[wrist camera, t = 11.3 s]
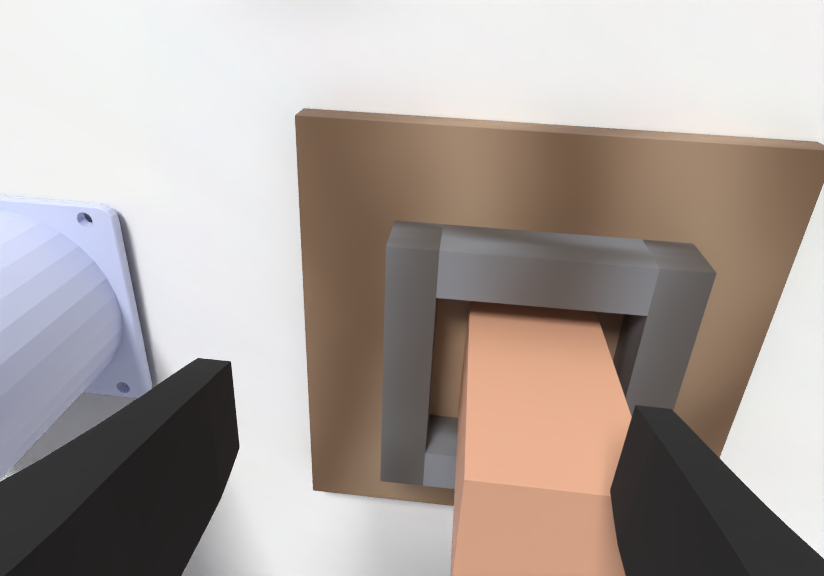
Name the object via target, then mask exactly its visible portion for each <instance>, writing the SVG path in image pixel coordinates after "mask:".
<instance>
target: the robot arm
mask: <svg viewBox="0 0 824 576" xmlns="http://www.w3.org/2000/svg"><path fill="white" fill-rule="evenodd" d="M84 213H86V214H88V215H89V216H90V217H91V219H92V223H91V222H89V221H88V220H86V218H85V216H84ZM123 383H126V384H127V385H128V386H129V387H128V386H126V385H124V384H123ZM82 393H90V394H100V395H110V396H120V397H130V398H138V399H136V400H135V401H133V402H132V403H130V404H129V405H127V406H126V407H124V408H123V409H121V410H120V411H118V412H117V413H115V414H114V415H112V416H111V417H109V418H108V419H106V420H105V421H103V422H101V423H100V424H98V425H97V426H95V427H93V428H92V429H90V430H88V431H87V432H85V433H84V434H82V435H80V436H79V437H77V438H75V439H74V440H72V441H70V442H69V443H67V444H66V445H64V446H62V447H61V448H59V449H57V450H56V451H54V452H52V453H51V454H49V455H47V456H46V457H44V458H43V459H41V460H39V461H37V462H36V463H34V464H32V465H30V466H28V467H27V468H25V469H23V470H21V471H19V472H18V473H16V474H14V475H12V476H10V477H8V478H6V479H5V480H3V481H1V482H0V576H181V575H182V573H183V571H184V569H185V567H186V566H187V564H188V562H189V560H190V558H191V556H192V554H193V552H194V550H195V548H196V546H197V544H198V543H199V541H200V539H201V537H202V535H203V533H204V531H205V529H206V527H207V525H208V523H209V521H210V519H211V517H212V515H213V513H214V511H215V509H216V507H217V505H218V503H219V501H220V499H221V497H222V494H223V492H224V489H225V486H226V484H227V481H228V479H229V476H230V473H231V470H232V467H233V465H234V462H235V459H236V456H237V453H238V450H239V438H238V428H237V418H236V408H235V398H234V388H233V378H232V368H231V362H230V361H221V360H212V359H202V358H198V359H196V360H194V361H193V362H191V363H189V364H188V365H186V366H185V367H183V368H182V369H180V370H179V371H177V372H176V373H174V374H173V375H171V376H170V377H168V378H167V379H165V380H164V381H163V382H161V383H160V384H158V385H157V386H155V387H154V388H152V381H151V376H150V372H149V367H148V362H147V357H146V352H145V347H144V342H143V337H142V332H141V327H140V322H139V317H138V312H137V307H136V302H135V297H134V292H133V287H132V282H131V277H130V272H129V267H128V262H127V257H126V252H125V247H124V242H123V237H122V232H121V227H120V222H119V218H118V215H117V213H116V212H115V210H114V209H113V208H112V207H110V206H108V205H106V204H102V203H91V202H78V201H65V200H53V199H40V198H27V197H14V196H1V195H0V480H1V479H2V477H3V476H4V475H5V474H6V473H7V472H8V471H9V470H10V469H11V468H12V467H13V466H14V465H15V464H16V463H17V462H18V460H19V459H20V458H21V457H22V456H23V455H24V454H25V453H26V452H27V451H28V450H29V449H30V448H31V447H32V446H33V445H34V444H35V442H36V441H37V440H38V439H39V438H40V437H41V436H42V435H43V434H44V433H45V432H46V431H47V430H48V429H49V428H50V427H51V426H52V424H53V423H54V422H55V421H56V420H57V419H58V418H59V417H60V416H61V415H62V414H63V413H64V412H65V411H66V410H67V409H68V408H69V406H70V405H71V404H72V403H73V402H74V401H75V400H76V399H77V398H78V397H79V396H80V395H81V394H82ZM610 495H611V502H612V510H613V518H614V525H615V531H616V538H617V544H618V549H619V553H620V556H621V560H622V564H623V568H624V571H625V575H626V576H824V559H823V558H822V557H821V556H820V555H819V554H818V553H817V552H816V551H815V550H813V549H812V548H811V547H810V546H809V545H808V544H807V543H806V542H805V541H804V540H802V539H801V538H800V537H799V536H798V535H797V534H796V533H795V532H794V531H793V530H791V529H790V528H789V527H788V526H787V525H786V524H785V523H784V522H783V521H782V520H781V519H780V518H779V517H778V516H777V515H776V514H775V513H773V512H772V511H771V510H770V509H769V508H768V507H767V506H766V505H765V504H764V503H763V502H762V501H761V500H760V499H759V498H758V497H757V496H756V495H755V494H754V493H753V492H752V491H751V490H750V489H749V488H748V487H747V486H746V485H745V484H744V483H743V482H742V481H741V480H740V479H739V478H738V477H737V476H736V475H735V474H734V473H733V472H732V471H731V470H730V469H729V468H728V467H727V466H726V465H725V464H724V463H723V461H722V460H721V459H720V458H719V457H718V456H717V455H716V454H715V453H714V452H713V451H712V450H711V449H710V448H709V447H708V446H707V445H706V444H705V443H704V442H703V441H702V440H701V439H700V438H699V436H698V435H697V434H696V433H695V432H694V431H693V430H692V429H691V428H690V427H689V426H688V425H687V424H686V423H685V422H684V421H683V420H682V419H681V418H680V417H679V416H678V415H677V414H676V413H675V412H674V411H673V410H672V409H668V408H658V407H649V406H640V405H635V408H634V411H633V415H632V418H631V421H630V425H629V428H628V431H627V435H626V438H625V441H624V445H623V448H622V452H621V455H620V458H619V462H618V465H617V468H616V472H615V475H614V478H613V482H612V485H611V488H610Z"/></svg>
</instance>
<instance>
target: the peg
mask: <svg viewBox="0 0 824 576" xmlns="http://www.w3.org/2000/svg"><path fill="white" fill-rule="evenodd" d="M631 418H632V416H631V413H630V411H629V408H628V405H627V402H626V399H625V396H624V393H623V390H622V387H621V384H620V381H619V378H618V375H617V372H616V369H615V366H614V364H613V361H612V358H611V355H610V352H609V349H608V346H607V343H606V340H605V337H604V334H603V331H602V328H601V325H600V322H599V319H598V317H597V314H596V312H595V311H583V310H571V309H560V308H548V307H537V306H525V305H513V304H502V303H490V302H478V301H469V311H468V320H467V329H466V338H465V347H464V356H463V366H462V375H461V384H460V393H459V412H458V433H457V453H456V473H455V494H454V514H453V535H452V555H451V576H626V575H625V571H624V568H623V564H622V560H621V556H620V553H619V549H618V544H617V538H616V531H615V525H614V518H613V510H612V502H611V495H610V488H611V485H612V482H613V478H614V475H615V472H616V468H617V465H618V462H619V458H620V455H621V452H622V448H623V445H624V441H625V438H626V435H627V431H628V428H629V425H630V421H631Z"/></svg>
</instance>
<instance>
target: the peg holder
mask: <svg viewBox="0 0 824 576" xmlns="http://www.w3.org/2000/svg"><path fill="white" fill-rule="evenodd" d="M295 126H296V146H297V167H298V187H299V208H300V228H301V249H302V270H303V290H304V311H305V331H306V352H307V373H308V393H309V414H310V434H311V455H312V476H313V490H315V491H324V492H333V493H342V494H351V495H360V496H369V497H379V498H388V499H397V500H406V501H415V502H424V503H434V504H443V505H452V506H454V494H455V473H456V453H457V433H458V412H459V393H460V384H461V375H462V366H463V356H464V347H465V338H466V329H467V320H468V311H469V301H478V302H490V303H502V304H513V305H525V306H537V307H548V308H560V309H571V310H583V311H595V312H596V314H597V317H598V319H599V322H600V325H601V328H602V331H603V334H604V337H605V340H606V343H607V346H608V349H609V352H610V355H611V358H612V361H613V364H614V366H615V369H616V372H617V375H618V378H619V381H620V384H621V387H622V390H623V393H624V396H625V399H626V402H627V405H628V408H629V411H630V413H631V416H632V415H633V411H634V408H635V405H640V406H649V407H658V408H668V409H672V410H673V411H674V412H675V413H676V414H677V415H678V416H679V417H680V418H681V419H682V420H683V421H684V422H685V423H686V424H687V425H688V426H689V427H690V428H691V429H692V430H693V431H694V432H695V433H696V434H697V435H698V436H699V438H700V439H701V440H702V441H703V442H704V443H705V444H706V445H707V446H708V447H709V448H710V449H711V450H712V451H713V452H714V453H715V454H716V455H717V456H718V457H719V458H720V455H721V452H722V450H723V447H724V444H725V442H726V439H727V437H728V434H729V431H730V429H731V426H732V423H733V421H734V418H735V415H736V413H737V410H738V408H739V405H740V402H741V400H742V397H743V394H744V392H745V389H746V386H747V384H748V381H749V379H750V376H751V373H752V371H753V368H754V365H755V363H756V360H757V357H758V355H759V352H760V350H761V347H762V344H763V342H764V339H765V336H766V334H767V331H768V328H769V326H770V323H771V321H772V318H773V315H774V313H775V310H776V307H777V305H778V302H779V299H780V297H781V294H782V292H783V289H784V286H785V284H786V281H787V278H788V276H789V273H790V270H791V268H792V265H793V263H794V260H795V257H796V255H797V252H798V249H799V247H800V244H801V241H802V239H803V236H804V234H805V231H806V228H807V226H808V223H809V220H810V218H811V215H812V212H813V210H814V207H815V204H816V202H817V199H818V197H819V194H820V191H821V189H822V186H823V183H824V145H823V144H821V143H819V142H811V141H795V140H780V139H765V138H749V137H734V136H718V135H703V134H688V133H672V132H657V131H642V130H626V129H611V128H595V127H580V126H565V125H549V124H534V123H519V122H503V121H488V120H472V119H457V118H442V117H426V116H411V115H396V114H380V113H365V112H349V111H334V110H319V109H303V110H301V111H300V112H299V113H298V114H296V115H295Z"/></svg>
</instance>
